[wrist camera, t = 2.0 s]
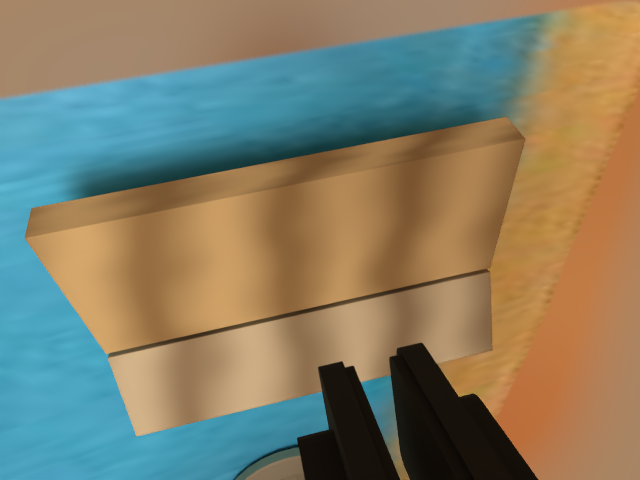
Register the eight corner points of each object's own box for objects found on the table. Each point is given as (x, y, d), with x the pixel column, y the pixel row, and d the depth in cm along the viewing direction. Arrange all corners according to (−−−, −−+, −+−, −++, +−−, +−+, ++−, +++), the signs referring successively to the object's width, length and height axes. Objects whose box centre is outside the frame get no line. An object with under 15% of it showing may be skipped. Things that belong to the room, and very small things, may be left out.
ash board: (476, 259, 35) (490, 271, 33) (479, 334, 37) (492, 350, 36) (114, 340, 33) (107, 357, 31) (141, 415, 35) (136, 436, 33)
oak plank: (506, 116, 27) (525, 138, 26) (476, 245, 35) (489, 267, 33) (31, 208, 25) (24, 237, 23) (107, 325, 32) (106, 353, 31)
